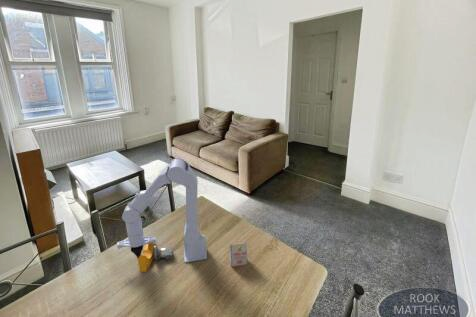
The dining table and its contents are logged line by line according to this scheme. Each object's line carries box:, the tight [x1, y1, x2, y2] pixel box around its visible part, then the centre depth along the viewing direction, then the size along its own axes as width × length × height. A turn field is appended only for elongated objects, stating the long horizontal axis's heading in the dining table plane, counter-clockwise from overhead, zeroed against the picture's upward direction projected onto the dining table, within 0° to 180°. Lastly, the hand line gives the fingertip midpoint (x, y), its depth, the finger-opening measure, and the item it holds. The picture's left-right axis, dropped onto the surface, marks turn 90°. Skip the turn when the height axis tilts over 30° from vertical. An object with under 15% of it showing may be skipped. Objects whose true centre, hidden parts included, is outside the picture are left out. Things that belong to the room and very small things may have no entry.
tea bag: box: [229, 242, 248, 268], centre depth 99 cm, size 4×7×10 cm, turn 100°
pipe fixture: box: [153, 244, 173, 262], centre depth 102 cm, size 7×6×6 cm
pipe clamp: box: [137, 242, 158, 273], centre depth 100 cm, size 12×4×6 cm, turn 177°
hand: (139, 258), depth 101 cm, fingers closed
